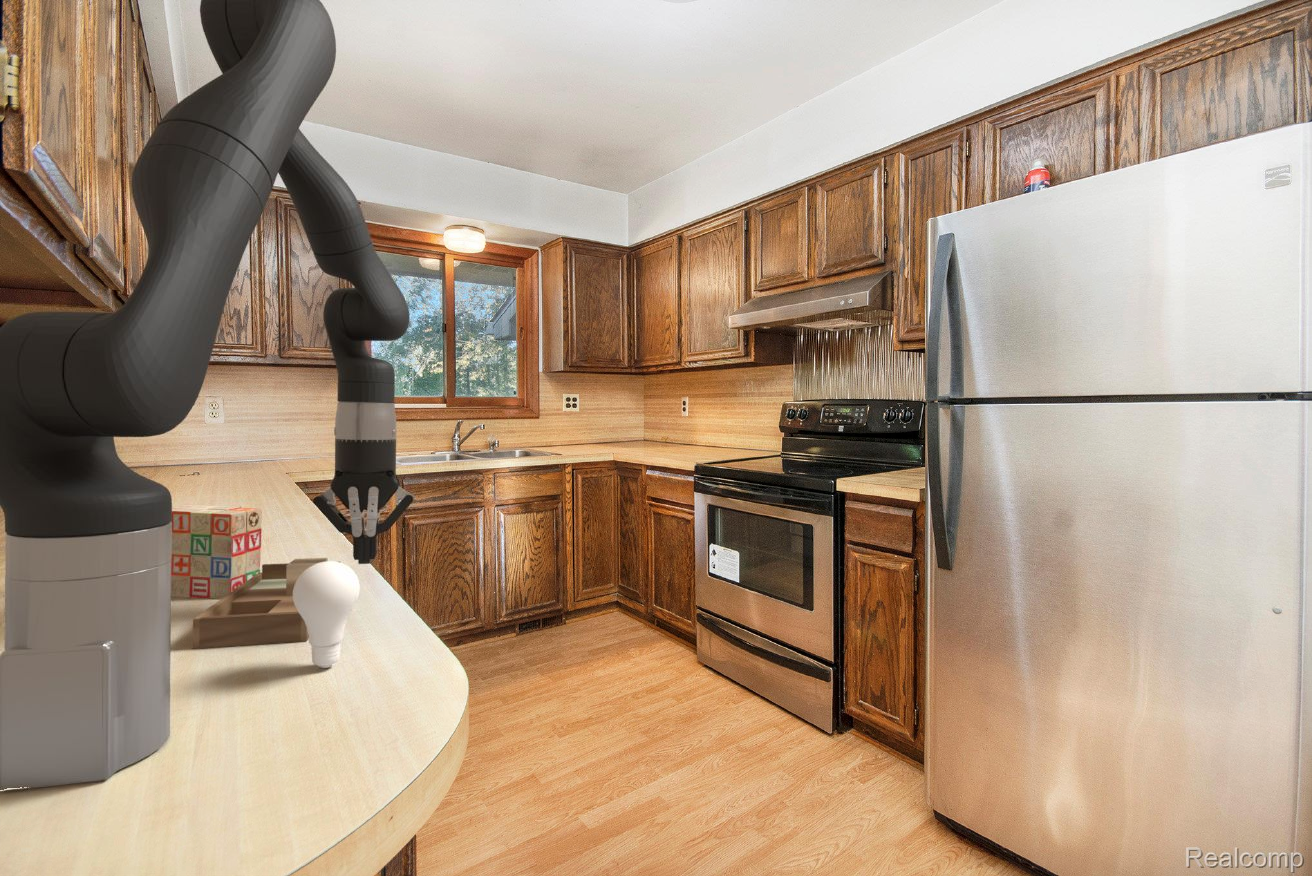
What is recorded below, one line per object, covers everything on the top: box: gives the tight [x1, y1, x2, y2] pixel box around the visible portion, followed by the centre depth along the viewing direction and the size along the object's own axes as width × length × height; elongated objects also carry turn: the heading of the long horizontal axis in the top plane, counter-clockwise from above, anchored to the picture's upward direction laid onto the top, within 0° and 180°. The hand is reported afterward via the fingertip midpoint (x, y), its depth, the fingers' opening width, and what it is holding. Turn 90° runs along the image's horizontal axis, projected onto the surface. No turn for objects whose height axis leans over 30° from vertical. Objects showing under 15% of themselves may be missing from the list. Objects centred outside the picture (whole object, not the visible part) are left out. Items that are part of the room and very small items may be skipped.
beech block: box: [286, 557, 329, 596], centre depth 83 cm, size 4×4×4 cm
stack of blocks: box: [171, 504, 263, 600], centre depth 90 cm, size 21×6×12 cm, turn 87°
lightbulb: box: [293, 560, 361, 669], centre depth 64 cm, size 6×6×11 cm
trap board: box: [192, 561, 341, 650], centre depth 80 cm, size 21×11×4 cm, turn 16°
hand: (365, 562), depth 84 cm, fingers closed
